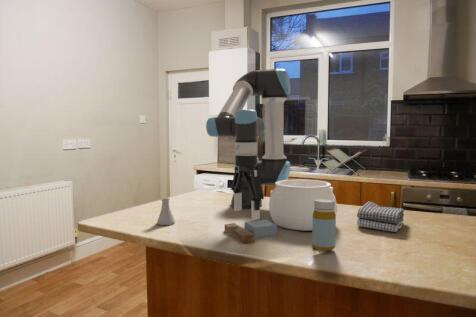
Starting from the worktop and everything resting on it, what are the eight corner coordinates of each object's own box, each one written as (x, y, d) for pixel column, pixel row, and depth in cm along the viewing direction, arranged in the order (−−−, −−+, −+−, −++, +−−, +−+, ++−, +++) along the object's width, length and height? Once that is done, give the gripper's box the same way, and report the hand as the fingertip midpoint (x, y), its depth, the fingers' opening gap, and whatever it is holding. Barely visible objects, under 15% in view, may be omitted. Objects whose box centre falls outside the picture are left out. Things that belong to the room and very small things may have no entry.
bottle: (309, 244, 108) (310, 198, 107) (330, 243, 109) (331, 198, 108) (316, 251, 101) (317, 202, 100) (338, 250, 102) (339, 202, 101)
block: (234, 229, 125) (234, 223, 124) (254, 242, 110) (254, 234, 110) (224, 230, 123) (224, 224, 123) (244, 243, 108) (244, 236, 108)
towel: (355, 228, 128) (356, 208, 127) (365, 218, 143) (365, 200, 142) (399, 234, 119) (400, 212, 119) (404, 223, 135) (405, 203, 134)
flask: (170, 226, 129) (170, 200, 129) (153, 225, 131) (152, 200, 130) (177, 221, 136) (177, 197, 136) (161, 220, 138) (160, 196, 137)
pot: (293, 237, 115) (293, 190, 114) (254, 220, 138) (254, 181, 137) (353, 227, 128) (354, 184, 127) (308, 212, 151) (309, 177, 150)
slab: (244, 232, 122) (266, 229, 126) (254, 238, 115) (277, 235, 118) (244, 221, 122) (266, 219, 125) (254, 227, 114) (277, 224, 118)
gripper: (222, 152, 125) (222, 208, 127) (253, 157, 103) (253, 225, 105) (240, 152, 129) (240, 206, 130) (274, 156, 106) (274, 222, 108)
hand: (246, 214), depth 118 cm, fingers open, 13 cm apart
